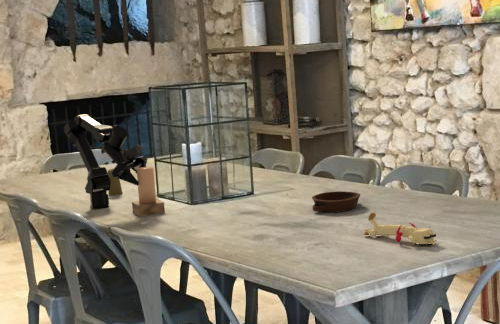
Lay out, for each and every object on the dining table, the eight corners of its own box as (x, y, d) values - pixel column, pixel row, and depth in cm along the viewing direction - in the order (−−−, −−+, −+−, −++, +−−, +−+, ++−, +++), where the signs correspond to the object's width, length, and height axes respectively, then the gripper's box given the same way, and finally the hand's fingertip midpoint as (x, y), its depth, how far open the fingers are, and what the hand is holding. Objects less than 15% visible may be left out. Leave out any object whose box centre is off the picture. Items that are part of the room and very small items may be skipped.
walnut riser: (139, 216, 330) (138, 206, 329) (132, 211, 339) (131, 201, 338) (164, 212, 333) (163, 202, 332) (157, 208, 342) (156, 198, 342)
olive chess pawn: (119, 195, 376) (117, 169, 374) (106, 195, 377) (104, 170, 376) (124, 192, 382) (122, 167, 380) (111, 192, 383) (109, 168, 381)
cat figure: (360, 243, 274) (424, 248, 255) (357, 215, 273) (421, 218, 254) (381, 236, 280) (445, 241, 261) (378, 209, 279) (442, 212, 260)
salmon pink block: (141, 204, 331) (138, 170, 329) (137, 201, 337) (134, 168, 335) (157, 202, 334) (155, 168, 332) (153, 199, 339) (151, 166, 337)
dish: (374, 205, 321) (374, 192, 320) (334, 217, 306) (333, 203, 306) (338, 200, 334) (338, 188, 333) (298, 212, 319) (297, 198, 318)
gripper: (115, 142, 326) (143, 172, 323) (141, 135, 342) (168, 163, 340) (99, 163, 330) (127, 192, 327) (125, 155, 347) (152, 183, 344)
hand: (144, 182), depth 334 cm, fingers open, 9 cm apart
